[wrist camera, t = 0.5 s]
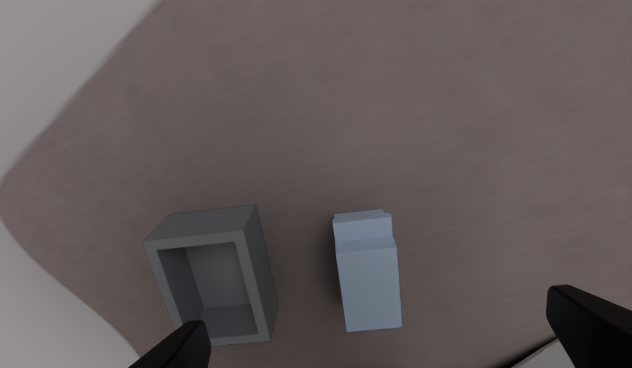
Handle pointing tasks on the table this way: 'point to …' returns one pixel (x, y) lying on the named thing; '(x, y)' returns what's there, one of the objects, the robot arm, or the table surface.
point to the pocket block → (215, 273)
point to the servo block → (368, 270)
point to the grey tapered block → (547, 357)
